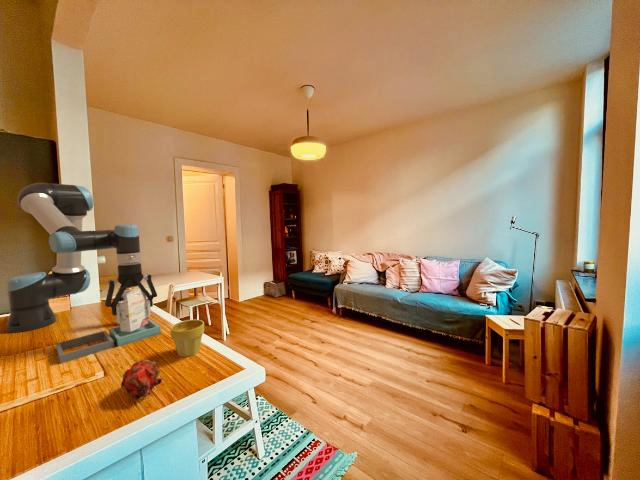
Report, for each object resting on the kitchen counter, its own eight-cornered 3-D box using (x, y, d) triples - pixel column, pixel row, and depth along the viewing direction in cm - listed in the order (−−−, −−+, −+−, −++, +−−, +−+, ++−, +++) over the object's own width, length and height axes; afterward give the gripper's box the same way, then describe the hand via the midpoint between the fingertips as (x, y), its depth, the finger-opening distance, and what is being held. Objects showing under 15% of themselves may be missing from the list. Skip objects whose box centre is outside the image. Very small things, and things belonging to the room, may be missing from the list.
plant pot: (212, 348, 93) (210, 321, 92) (186, 362, 83) (184, 333, 83) (191, 342, 97) (190, 317, 96) (165, 356, 88) (163, 328, 87)
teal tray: (109, 336, 104) (108, 329, 104) (149, 325, 115) (149, 318, 115) (118, 346, 95) (117, 338, 95) (160, 333, 106) (160, 326, 106)
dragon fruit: (144, 383, 76) (147, 413, 66) (113, 377, 71) (111, 408, 61) (163, 356, 77) (169, 382, 68) (134, 349, 72) (135, 375, 63)
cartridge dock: (56, 350, 94) (55, 343, 94) (105, 336, 104) (105, 330, 104) (60, 363, 85) (59, 356, 85) (114, 347, 95) (113, 340, 95)
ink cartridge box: (139, 323, 110) (136, 288, 108) (149, 323, 109) (146, 289, 107) (119, 331, 101) (116, 294, 100) (130, 332, 100) (127, 295, 99)
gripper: (94, 269, 92) (100, 330, 94) (164, 260, 109) (167, 312, 110) (90, 267, 97) (96, 325, 99) (157, 259, 114) (161, 309, 115)
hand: (134, 318), depth 105 cm, fingers closed on ink cartridge box, 10 cm apart
